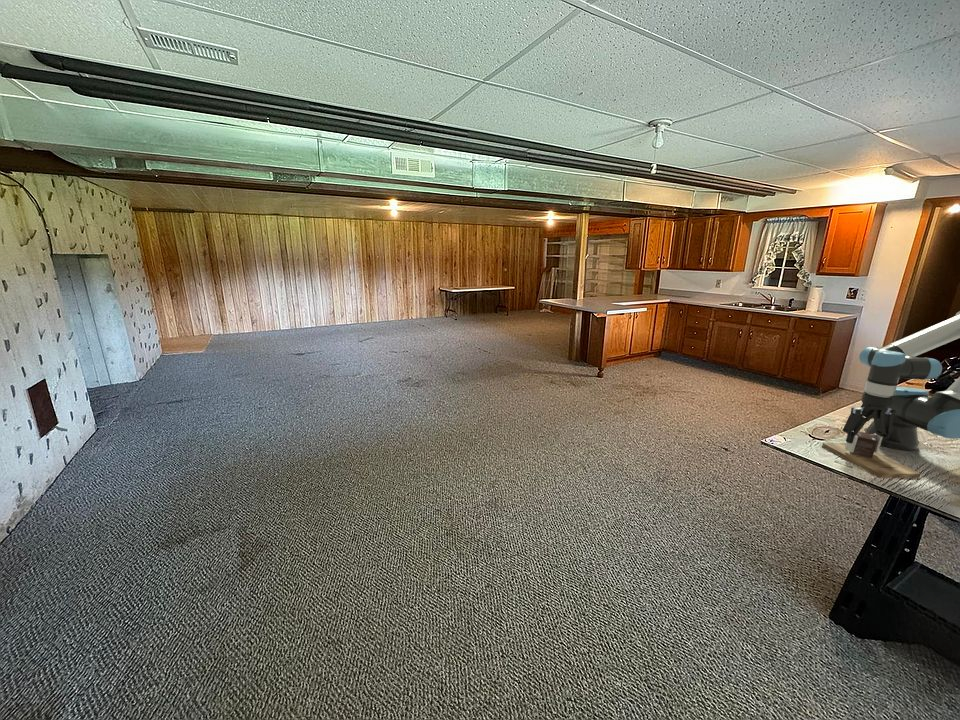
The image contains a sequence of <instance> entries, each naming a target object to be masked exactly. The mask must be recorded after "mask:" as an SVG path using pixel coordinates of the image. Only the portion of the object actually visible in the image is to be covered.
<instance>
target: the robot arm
mask: <svg viewBox="0 0 960 720" xmlns="http://www.w3.org/2000/svg"><path fill="white" fill-rule="evenodd" d="M958 339H960V310H959V311H958V312H956V313H955V315H954V316H952V317H950V318H947V319H946V320H943V321H941V322H938V323H936V324H934V325H930V326H929V327H927V328H924V329H921V330H919V331H917V332H915V333H912V334H910V335H908V336H905V337H903V338H901V339H898V340H895V341H894V342H891V343H889V344H886V345H883V346H881V347H877V346H875V347H874V346H868V347H865V348H864V349H862V350H861V351H860V353H859V355H858V359H859V361H860V362H861V363H860V364H863V365H865V366H868V367H870V368H869V371H868V376H867V379H866V382H865V385H864V389H863V390H864V391H863V392H862V395H861V399H860V401H861V403H862V404H861V405H860V407H854V406H853V407H851V408H850V413H849V415H848V417H847V420H846V421H845V423H844V426H843V428H842V432H843V433H845V434H847V435H846V438H845V443H846V446H845V449H846V450H848V451H850V452H854V449H855V445H856V442H857V439H858V436H856V435H857V433H858V432H861V430H862V428H863V427H864V425H866V424H867V422H870V420H872V419H873V421H872V422H871V423H870V424H869V426H868V427H867V428H866V429H865V430H864V433H869V434H874V435H876V437H877V440H878V442H877V445H876V448H875V451H874V452H875V453H879V450H880V448H881V446H883V447H887V448H891V449H895V450H902V451H916V450H918V448H919V445H920V442H919V436H918V428H919V429H922V430H924V431H927V432H929V433H931V434H933V435H936V436H939V437H942V438H946V439H952V440H955V439H960V376H959V377H958V378H957V379H956V380H954V382H953V383H952V384H951V385H949V387H948V388H947V389H945V390H943V391H942V390H941V391H935V393H934V394H933V395H932V396H931V397H930V396H929V395H930V394H929V393H930V392H929V391H928V390H925V389H922V388H921V389H920V388H917V387H916V388H915V387H908V386H898V383H899V381H900V380H901V379H902V380H919V381H920V380H921V381H922V380H923V381H924V380H932V379H935V378H938V377H939V376H940V375H941V374H942V371H943V366H942V364H941V362H940V361H939V360H937V359H935V358H932V357H931V358H930V357H926V356H925V357H919V356H920V355H922V354H924V353H927V352H929V351H931V350H934V349H936V348H939V347H941V346H943V345H947V344H948V343H951V342H953V341H955V340H958ZM917 356H918V357H917Z"/></svg>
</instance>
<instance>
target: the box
mask: <svg viewBox="0 0 960 720" xmlns="http://www.w3.org/2000/svg"><path fill="white" fill-rule="evenodd" d="M856 436H858V439H857V442H856V445H855V449H854V452H850V453H851V454H855V455H860V456H864V457H868V458H872V457H873V454H874V451H875V448H876V445H877V442H878V440H877V437H876V435H874V434H869V433H865V431H864V432H863V431H859V432H858V433H857V435H856Z"/></svg>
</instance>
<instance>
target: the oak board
mask: <svg viewBox="0 0 960 720" xmlns="http://www.w3.org/2000/svg"><path fill="white" fill-rule="evenodd" d="M845 446H846V442H822V445H821V447H822V448H824V449H826V450H828V451H830V452H832V453H834V454H835V455H837V456H839V457H841V458H843V459H845V460H846V461H848V462H850V463H851V464H853V465H854V466H857V467H858V468H860V469H862V470H863V471H866V472H868V473H869V474H871V475H873V476H875V477H877V478H887V479H888V478H895V479H896V478H899V479H901V478H902V479H903V478H905V479H906V478H907V479H908V478H910V479H911V478H913V479H915V478H916V479H917V478H921V475H922V473H921V472H918V471H917V470H914V469H913V468H910V467H908V466H906V465H904V464H902V463H900V462H897V461H896V460H894V459H892V458H890V457H888V456H886V455H884V454H882V453H880V452H878V453H875V452H874V454H873V457H872V458H868V457H864V456H860V455H855V454H851V453H850V451H848V450H846V449H845Z"/></svg>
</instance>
